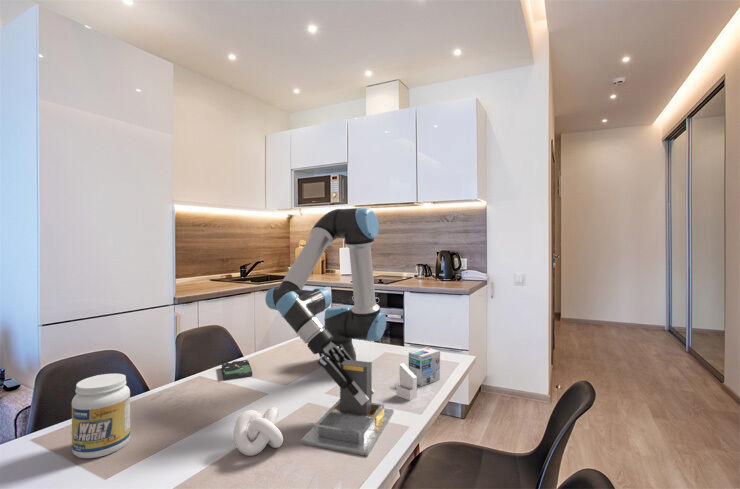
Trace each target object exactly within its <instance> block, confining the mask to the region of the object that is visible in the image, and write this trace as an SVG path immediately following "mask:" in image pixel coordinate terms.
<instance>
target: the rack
mask: <svg viewBox="0 0 740 489" xmlns="http://www.w3.org/2000/svg"><path fill="white" fill-rule="evenodd" d="M394 413H395V412H394V409H393V408H392V409H391V408H385V404H382V403H376V402H372V410H371V412H370V413H369V415H368V416H363V415H357V414H350V413H344V412H340V398H339V399H338V400H337V401H335V403H334V404H333V405H332V406H331V408H329V409H328V410H327V411H326V413H324V414H323V415H322V416H321V417H320V418H319V420H317V421H316V423H314V425H313V427H312V428H311V429H310V430H309V431H307V433H306V434H305V435H304V436H303V437H302V438H301V440H300V444H301V445H306V446H313V447H317V448H322V449H328V450H335V451H339V452H344V453H348V454H349V453H350V454H355V455H360V456H366V457H369V455H370V453H371V452H372V450H373V448H374V447H375V445H376V443H377V442H378V440H379V438H380V436H381V435H382V433H383V431H384V430H385V428H386V426H387V425H388V424H389V421H390V420H391V419H392V416H393V415H394Z"/></svg>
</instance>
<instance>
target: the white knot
mask: <svg viewBox="0 0 740 489" xmlns="http://www.w3.org/2000/svg"><path fill="white" fill-rule="evenodd" d="M278 418H279V409H278V408H277V407H276V406H270V407H269V408H267V410H265V412H264V414H262V413H260V412H259V411H257V410H255V409H247V410H245V411H243V412H242V413H240V414H239V416H238V417H237V419H236V420H235V423H234V428H233V439H234V444H235V446H236V448H237V450H238V451H239V452H240V453H241V454H243V455H245V456H247V457H248V456H249V457H252V456H256V455H258V454H259V453H260V452H262V451H263V450H264V449H265V448H266V446H267V444H268V446H270V447H272V448H274V449H276V448H280V447H282V445H283V442H284V436H283V433H282V432H281V430H280V429H279V428H278V426H276V422H277V420H278Z"/></svg>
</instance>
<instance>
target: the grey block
mask: <svg viewBox="0 0 740 489" xmlns="http://www.w3.org/2000/svg"><path fill="white" fill-rule="evenodd" d="M340 365H341V367H342V368H343V369H344V370H345V371H346V373H347V374H348V376H349V377H350V379H351V381H352V382H353V381H355V383H356V384H357V385H358V386H359V387H360V388H361V390H362V391H363V392H364V393H365V394H366V396H367V397H368V398H369V400H368V401H367V402H366V403H365V404H363V405H361V404H360V403H359V402H358V401H357V399H356V398H355V397H354V396H353V395H352V393H351V392H350V391H349V390H348V388H345V389H342V388H340V387H339V399H340V412H344V413H350V414H357V415H363V416H368V415H369V413H370V412H371V410H372V403H373V402H372V398H373V394H372V389H373V387H372V379H373V378H372V377H373V376H372V372H373V370H372V368H373V367H372V366H373V363H372V362H371V361H363V360H356V361H354V360H345V361H344V362H342V363H341V364H340ZM352 382H351V383H352Z"/></svg>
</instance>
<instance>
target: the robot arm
mask: <svg viewBox="0 0 740 489" xmlns="http://www.w3.org/2000/svg"><path fill="white" fill-rule="evenodd" d="M379 229H380V226H379V220H378V217H377V215H376V213H375V212H374V211H373V210H372V209H371V208H367V207H355V208H354V207H353V208H336V209H333V210H330V211H329V212H326V213H325V214H324V215H323V216H322V217H320V218H319V219H318V220H317V221H316V222H315V224H314V225H313V227H312V229H311V230H310V231H309V232H310V236H309V238H308V240H307V241H306V243H305V244H304V246H303V247H302V249H301V250H300V252H299V254H298V256H297V257H295V258H296V259H295V260H294V262H293V263H292V265H291V267H290V268H289V270H288V271H287V273H286V274H285V276H284V278H283V279H282V281H281V282H280V284H279V285H278V287H271V288H270V289H268V290H267V292H266V294H265V304H266V306H267V307H268V308H269V309H270V310H273V311H274V310H275V311H278V312H279V314H280V315H281V317H282V318H283V319H284V320H285V321H286V322H287V324H288V325H289V326H290V328H292V329H293V331H294V332H295V334H297V335H298V337H299V339H300V340H302V341H303V343H304V344H306V345H307V348H308V349H309V350H310V351H311V352H312V354H313V355H317V354H318V355H319V357H320V359H318V360H317V363H318V365H319V366H321V367H322V368H323V369H324V370H325V371H326V372H327V374H328V375H329V377H331V379H332V380H333V381H334V382H335V383H336V385H338V387H339V389H340V388H342V389H345V388H348V390H349V391H350V392H351V393H352V395H353V396H354V397H355V398H356V399H357V401H358V402H359V403H360V404H361V405H363V404H365V403H366V402H367V401H368V400H369V398H368V397H367V396H366V394H365V393H364V392H363V391H362V390H361V388H360V387H359V386H358V385H357V384H356V383H355V381H353V382H352V381H351V379H350V377H349V376H348V374H347V373H346V371H345V370H344V369H343V368H342V367H341V365H340V364H341V363H342V362H344V361H345V360H354V361H357V354H356V350H355V348H354V345H353V339H354V340H362V341H368V342H378V341H380V339H382V337H383V335H384V333H385V330H386V327H387V315H386V314H385V313H384V312H382V311H381V306H380V305H379V303H378V304H377V302H376V293H375V292H376V291H375V282H374V281H375V280H374V271H373V270H374V269H373V259H372V258H373V257H372V245H373V244H374V242H375V238H376V237H377V236H378V234H379ZM337 239H344V240H343V241H344V245H345V246H346V247H348V251H349V262H350V270H351V272H350V273H351V281H352V292H353V294H352V295H353V302H354V305H353V306H352V305H349V304H348V305H345V304H344V305H337V306H332V307H331V306H330V305H331V303H332V296H331V294H330V291H328V290H327V289H326V288H324V287H317V288H314V289H313V290H309V289H304V287H305V286H306V283H307V282H308V281H309V278H310V277H311V275H312V273H313V271H314V269H315V268H316V267H317V264H318V263H319V261H320V260H321V258H322V256H323V255H324V252H325V251H326V249H327V248H328V247H329V246H330V245H332V244H333V242H334V241H335V240H337ZM322 312H324V318H323V320H324V324H323V323H322V321H321V320H320V319H319V318H318V317H317V315H318V314H320V313H322ZM351 382H352V383H351ZM373 394H375V390H374V389H373V388H372V395H373Z"/></svg>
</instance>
